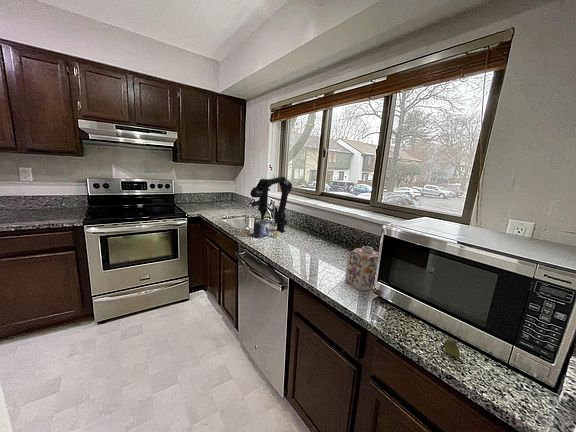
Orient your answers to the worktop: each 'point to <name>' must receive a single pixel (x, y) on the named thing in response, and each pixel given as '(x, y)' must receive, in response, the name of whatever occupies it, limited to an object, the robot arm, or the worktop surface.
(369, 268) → the decorative jar
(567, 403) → the worktop surface
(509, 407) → the worktop surface
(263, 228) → the small box
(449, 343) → the lime
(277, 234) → the marked block 2
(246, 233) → the marked block 1
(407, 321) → the worktop surface
